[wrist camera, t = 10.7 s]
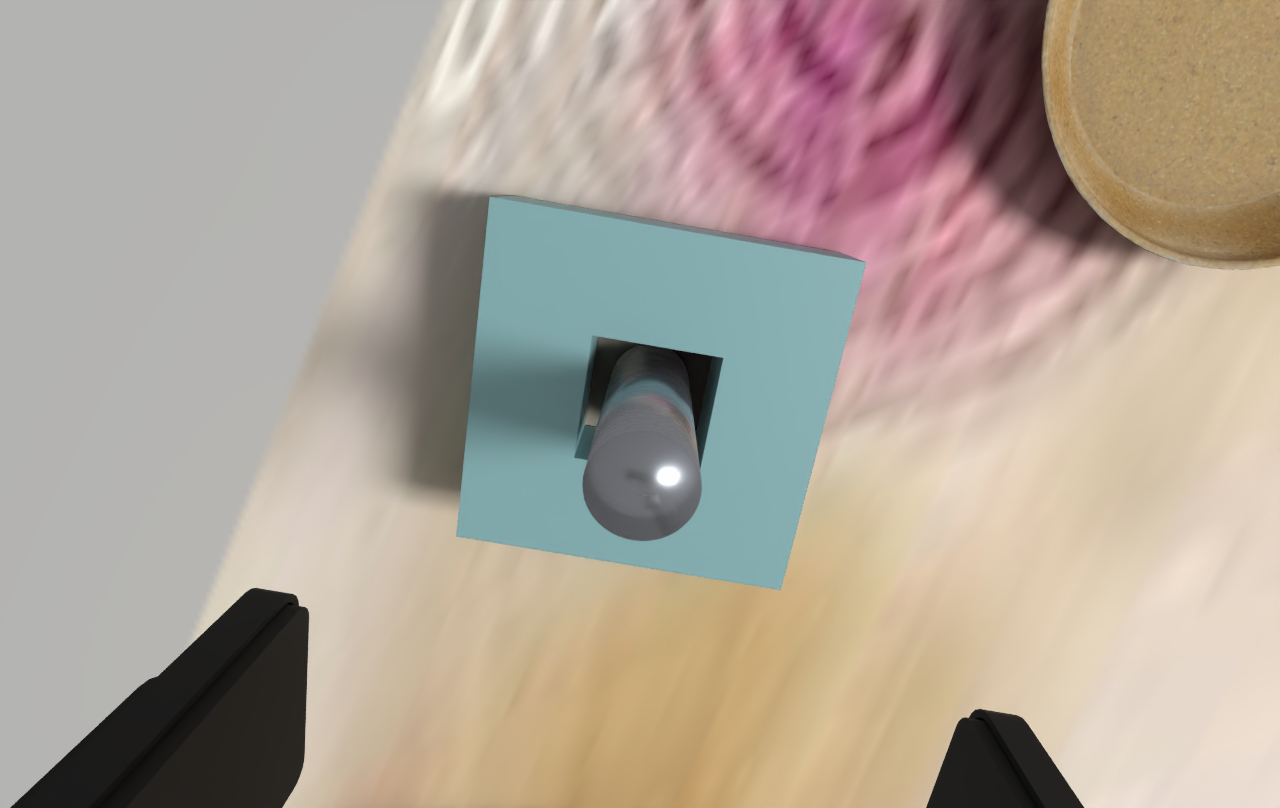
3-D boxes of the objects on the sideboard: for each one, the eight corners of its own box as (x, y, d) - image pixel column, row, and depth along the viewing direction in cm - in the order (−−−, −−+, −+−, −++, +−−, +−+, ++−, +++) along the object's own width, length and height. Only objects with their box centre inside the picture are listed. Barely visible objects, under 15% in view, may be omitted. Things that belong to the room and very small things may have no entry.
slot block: (839, 252, 25) (866, 262, 22) (767, 543, 29) (780, 590, 26) (512, 195, 25) (489, 196, 22) (480, 495, 29) (456, 536, 25)
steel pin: (695, 350, 27) (712, 442, 17) (680, 424, 28) (689, 549, 18) (617, 337, 27) (591, 422, 17) (605, 411, 28) (574, 530, 18)
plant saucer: (1087, -276, 21) (1145, -338, 18) (1569, -198, 21) (1690, -249, 19) (950, 228, 25) (982, 233, 23) (1349, 289, 26) (1424, 300, 23)
